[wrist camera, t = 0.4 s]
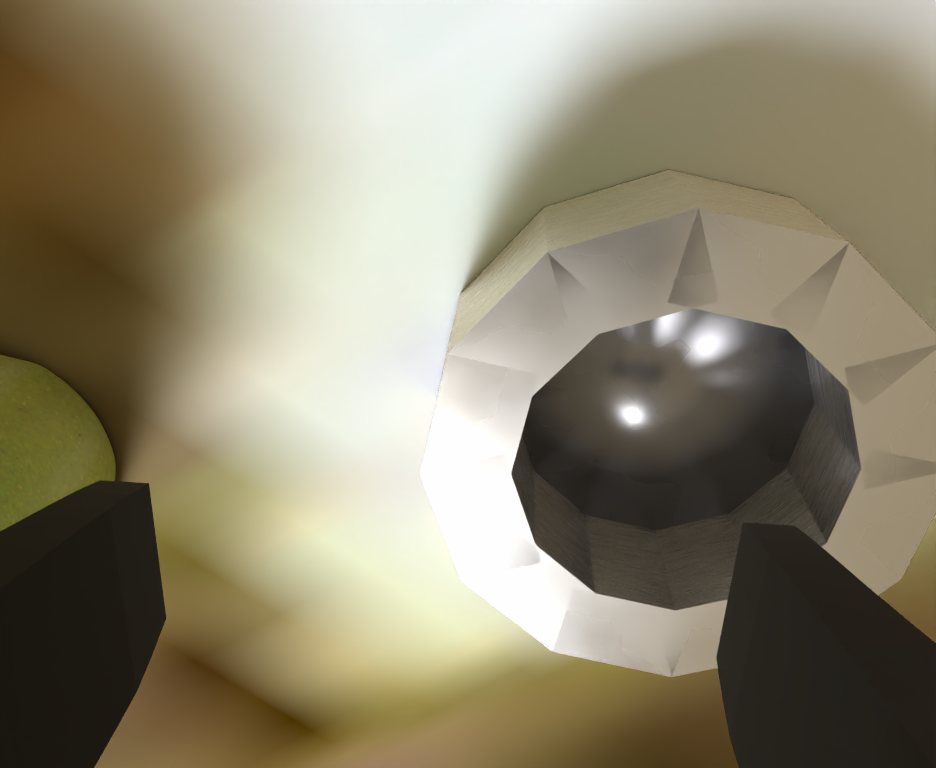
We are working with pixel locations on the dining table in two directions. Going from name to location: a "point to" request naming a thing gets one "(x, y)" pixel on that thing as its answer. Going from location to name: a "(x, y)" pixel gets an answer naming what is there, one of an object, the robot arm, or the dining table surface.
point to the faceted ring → (675, 415)
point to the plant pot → (45, 441)
